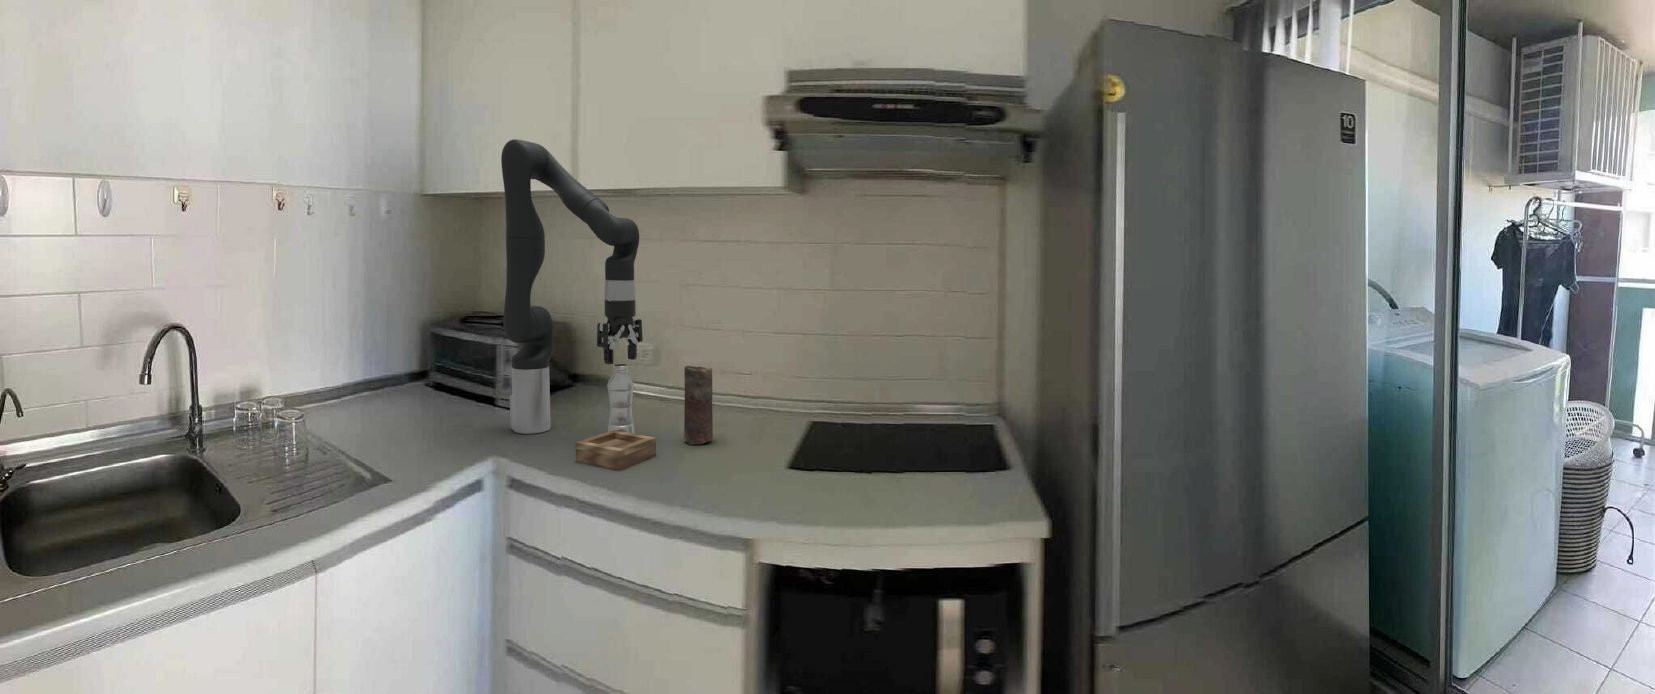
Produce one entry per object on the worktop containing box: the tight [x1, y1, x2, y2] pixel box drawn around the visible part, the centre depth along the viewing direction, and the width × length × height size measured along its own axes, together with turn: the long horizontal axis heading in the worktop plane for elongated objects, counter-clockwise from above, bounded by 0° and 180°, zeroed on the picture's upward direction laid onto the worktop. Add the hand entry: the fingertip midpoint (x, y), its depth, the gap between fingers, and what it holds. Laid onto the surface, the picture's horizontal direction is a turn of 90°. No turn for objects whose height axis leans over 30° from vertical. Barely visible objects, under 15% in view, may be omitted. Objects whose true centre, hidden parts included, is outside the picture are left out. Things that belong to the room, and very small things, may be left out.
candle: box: [683, 365, 714, 446], centre depth 182 cm, size 8×7×20 cm
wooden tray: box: [575, 430, 657, 471], centre depth 166 cm, size 13×13×4 cm
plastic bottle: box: [606, 363, 635, 434], centre depth 180 cm, size 6×7×20 cm
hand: (620, 361), depth 178 cm, fingers open, 8 cm apart
